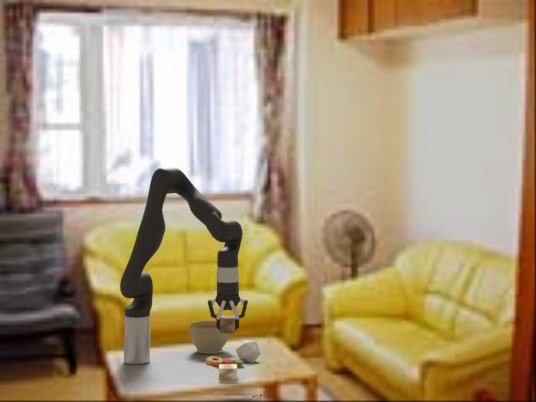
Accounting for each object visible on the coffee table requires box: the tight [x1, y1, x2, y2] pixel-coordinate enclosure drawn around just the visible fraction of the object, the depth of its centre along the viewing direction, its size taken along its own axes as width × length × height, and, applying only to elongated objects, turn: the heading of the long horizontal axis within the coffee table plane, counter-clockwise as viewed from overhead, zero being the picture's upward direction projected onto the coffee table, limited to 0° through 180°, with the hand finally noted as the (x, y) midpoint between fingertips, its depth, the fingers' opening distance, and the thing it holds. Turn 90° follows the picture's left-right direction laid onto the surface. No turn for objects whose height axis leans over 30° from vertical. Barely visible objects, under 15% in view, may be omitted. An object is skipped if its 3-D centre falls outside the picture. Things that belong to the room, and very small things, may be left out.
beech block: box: [218, 364, 238, 380], centre depth 289 cm, size 6×6×4 cm
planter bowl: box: [188, 320, 230, 355], centre depth 331 cm, size 16×16×11 cm
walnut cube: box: [220, 315, 236, 334], centre depth 288 cm, size 5×5×5 cm
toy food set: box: [205, 356, 245, 370], centre depth 308 cm, size 13×13×3 cm
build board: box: [209, 373, 247, 384], centre depth 289 cm, size 12×12×1 cm
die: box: [235, 339, 262, 364], centre depth 316 cm, size 8×9×10 cm
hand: (227, 329), depth 288 cm, fingers closed on walnut cube, 5 cm apart
